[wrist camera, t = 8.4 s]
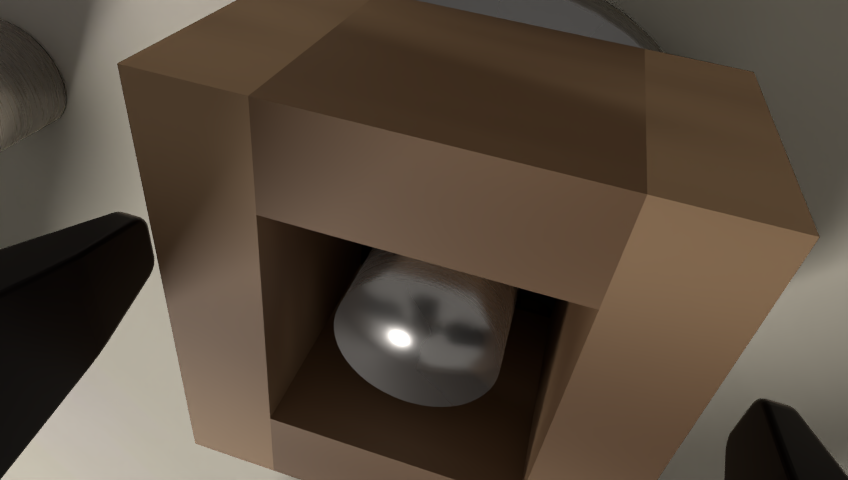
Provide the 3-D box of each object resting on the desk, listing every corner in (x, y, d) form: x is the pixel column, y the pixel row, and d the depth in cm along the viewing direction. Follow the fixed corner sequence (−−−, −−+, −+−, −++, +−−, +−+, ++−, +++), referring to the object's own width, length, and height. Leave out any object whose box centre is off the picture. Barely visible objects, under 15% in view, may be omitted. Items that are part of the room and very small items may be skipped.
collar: (602, 387, 13) (590, 578, 10) (295, 296, 14) (195, 443, 11) (753, 71, 8) (818, 237, 5) (288, -27, 9) (117, 63, 6)
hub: (459, 375, 15) (407, 547, 12) (221, 138, 13) (68, 266, 10) (793, 240, 11) (866, 456, 7) (518, -162, 8) (432, -126, 5)
